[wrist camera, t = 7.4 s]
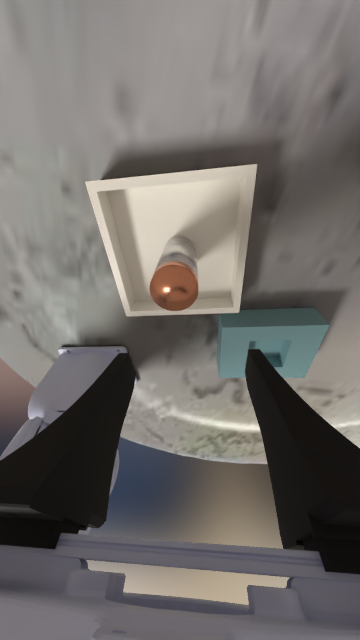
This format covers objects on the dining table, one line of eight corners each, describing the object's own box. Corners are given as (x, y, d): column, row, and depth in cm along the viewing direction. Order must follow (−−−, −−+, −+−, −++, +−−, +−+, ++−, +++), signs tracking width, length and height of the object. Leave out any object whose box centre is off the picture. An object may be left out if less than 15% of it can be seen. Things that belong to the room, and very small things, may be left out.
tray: (132, 303, 22) (126, 316, 20) (99, 180, 15) (85, 181, 13) (234, 299, 21) (239, 312, 19) (248, 165, 14) (257, 163, 12)
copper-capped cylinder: (169, 272, 19) (158, 314, 13) (158, 241, 17) (141, 274, 11) (199, 265, 18) (202, 306, 12) (192, 231, 16) (192, 261, 11)
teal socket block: (216, 359, 26) (219, 377, 24) (219, 310, 22) (222, 327, 19) (294, 358, 26) (304, 377, 23) (314, 307, 21) (330, 324, 18)
